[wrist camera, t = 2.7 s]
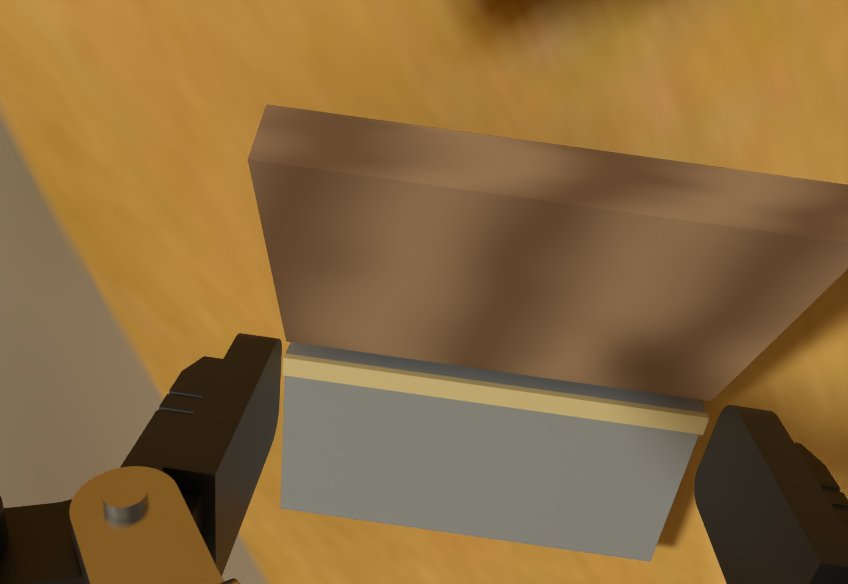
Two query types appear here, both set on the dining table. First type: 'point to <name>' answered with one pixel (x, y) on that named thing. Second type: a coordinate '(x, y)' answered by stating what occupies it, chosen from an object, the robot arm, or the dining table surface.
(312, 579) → the dining table surface
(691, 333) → the walnut plank
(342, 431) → the board
